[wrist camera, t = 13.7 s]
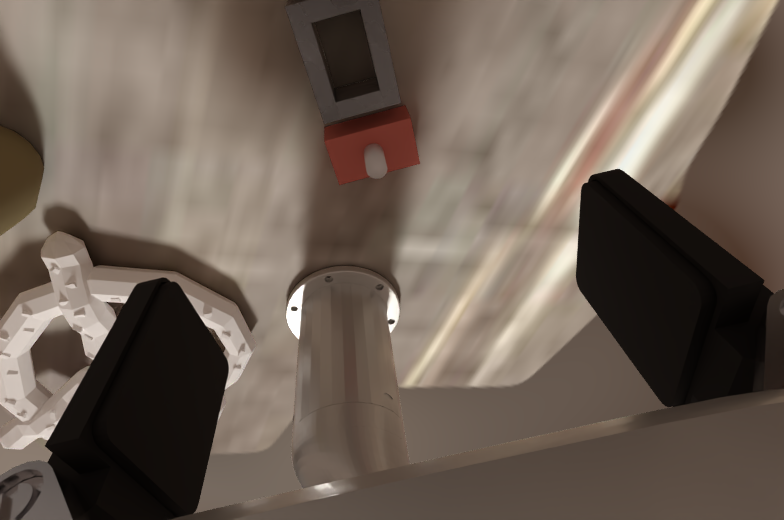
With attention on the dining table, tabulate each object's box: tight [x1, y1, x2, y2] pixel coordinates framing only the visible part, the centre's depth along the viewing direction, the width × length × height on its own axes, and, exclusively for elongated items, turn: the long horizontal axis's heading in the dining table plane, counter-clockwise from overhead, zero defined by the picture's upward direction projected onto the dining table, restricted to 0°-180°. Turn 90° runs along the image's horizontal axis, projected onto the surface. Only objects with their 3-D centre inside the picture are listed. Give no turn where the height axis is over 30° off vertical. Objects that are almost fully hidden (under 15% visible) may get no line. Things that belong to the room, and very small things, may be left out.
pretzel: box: [0, 231, 257, 449], centre depth 47 cm, size 28×24×6 cm
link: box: [285, 0, 401, 124], centre depth 32 cm, size 8×6×4 cm
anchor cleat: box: [324, 105, 420, 185], centre depth 36 cm, size 4×7×6 cm, turn 103°
